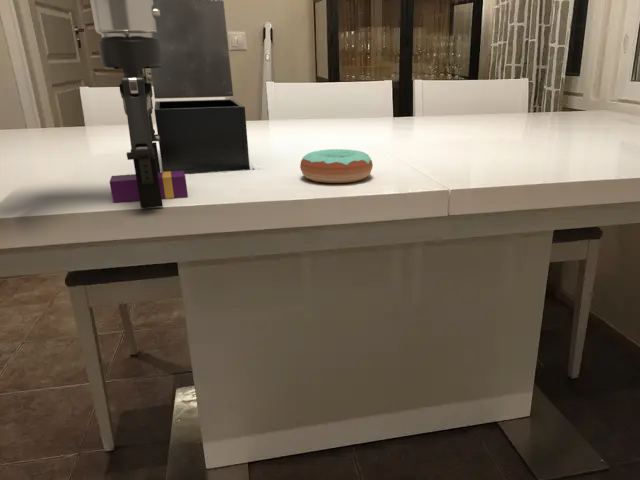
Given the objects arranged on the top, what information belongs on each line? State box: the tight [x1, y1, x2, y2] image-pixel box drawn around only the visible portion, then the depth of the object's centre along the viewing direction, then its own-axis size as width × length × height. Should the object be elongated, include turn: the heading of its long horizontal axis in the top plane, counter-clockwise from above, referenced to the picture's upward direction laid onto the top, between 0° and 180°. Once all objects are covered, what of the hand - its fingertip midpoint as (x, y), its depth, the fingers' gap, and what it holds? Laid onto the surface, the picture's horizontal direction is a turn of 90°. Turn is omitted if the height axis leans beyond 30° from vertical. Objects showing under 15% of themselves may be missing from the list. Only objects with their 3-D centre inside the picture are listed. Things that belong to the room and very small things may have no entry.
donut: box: [299, 148, 374, 184], centre depth 92 cm, size 12×12×4 cm
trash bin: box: [153, 98, 251, 175], centre depth 102 cm, size 17×15×11 cm
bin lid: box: [150, 0, 234, 100], centre depth 108 cm, size 18×15×6 cm
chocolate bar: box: [109, 171, 189, 204], centre depth 80 cm, size 10×4×3 cm, turn 109°
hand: (152, 195), depth 81 cm, fingers open, 13 cm apart
